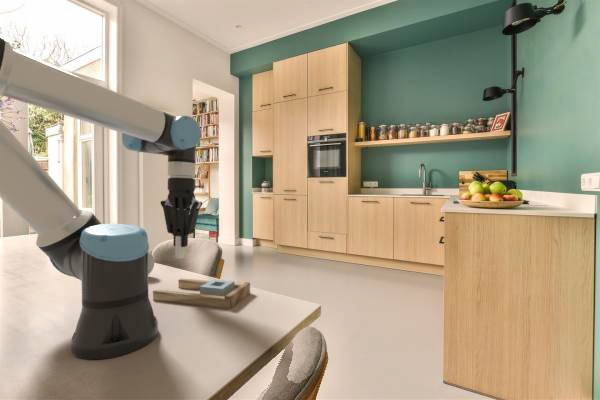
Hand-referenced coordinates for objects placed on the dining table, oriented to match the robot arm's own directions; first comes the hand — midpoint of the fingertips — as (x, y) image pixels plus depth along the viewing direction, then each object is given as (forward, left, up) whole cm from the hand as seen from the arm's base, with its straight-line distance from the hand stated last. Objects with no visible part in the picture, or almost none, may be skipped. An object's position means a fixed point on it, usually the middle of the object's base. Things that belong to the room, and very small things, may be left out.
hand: (180, 257), depth 88 cm
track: (+1, -7, -11) cm, 13 cm away
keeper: (+1, -12, -11) cm, 16 cm away
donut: (+12, +25, -11) cm, 30 cm away
